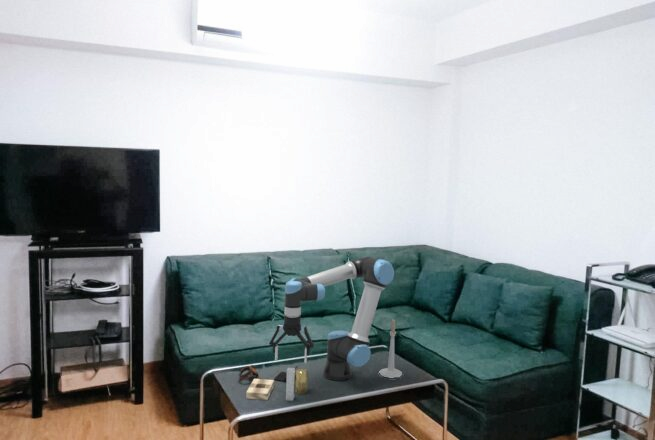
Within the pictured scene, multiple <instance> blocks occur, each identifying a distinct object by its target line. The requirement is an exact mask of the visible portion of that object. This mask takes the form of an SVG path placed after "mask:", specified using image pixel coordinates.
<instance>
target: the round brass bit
mask: <svg viewBox="0 0 655 440" xmlns="http://www.w3.org/2000/svg"><path fill="white" fill-rule="evenodd" d="M308 372H309V371H308V370H307V369H305V368H298V369H295V393H296V394H298V395H302V394H303V395H304V394H306V393H307V392H308V374H309V373H308Z"/></svg>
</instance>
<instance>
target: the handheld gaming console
mask: <svg viewBox="0 0 655 440" xmlns="http://www.w3.org/2000/svg"><path fill="white" fill-rule="evenodd" d="M294 368H295V370H297V368H298V365H297V366H296V367H294ZM286 379H287V371H281V372H279V373H278V374H277V375H276V376H275V377H273V380H274V382H280V383H286Z"/></svg>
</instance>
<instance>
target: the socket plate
mask: <svg viewBox="0 0 655 440" xmlns="http://www.w3.org/2000/svg"><path fill="white" fill-rule="evenodd" d="M274 386H275V381H274V379H266V378H264V379H262V378H259V379H256V378H253V380H252V381H251V383H250V385H249V387H248V389H247V390H246V393H245V399H247V400H261V401H268V400H269V398H270V395H271V393H272V391H273V389H274Z"/></svg>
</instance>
